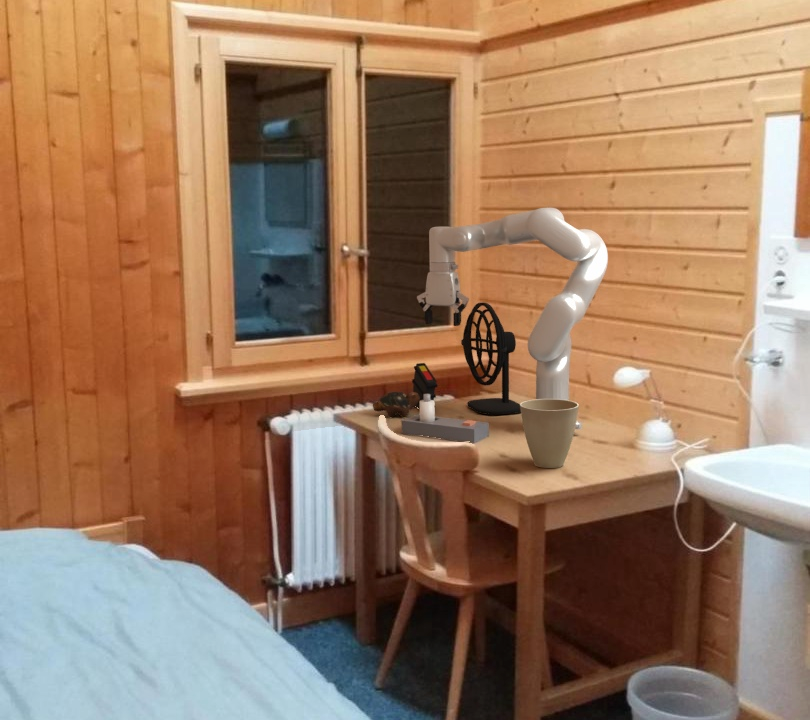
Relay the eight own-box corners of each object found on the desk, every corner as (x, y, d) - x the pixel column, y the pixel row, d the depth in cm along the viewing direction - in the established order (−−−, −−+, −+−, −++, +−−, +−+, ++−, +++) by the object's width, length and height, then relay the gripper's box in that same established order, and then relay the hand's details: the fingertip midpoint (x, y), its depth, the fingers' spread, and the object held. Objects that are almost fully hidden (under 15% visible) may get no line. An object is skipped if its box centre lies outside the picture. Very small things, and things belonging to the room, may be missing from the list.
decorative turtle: (420, 419, 306) (418, 394, 304) (372, 422, 307) (370, 397, 305) (421, 410, 315) (419, 386, 314) (375, 413, 317) (372, 390, 315)
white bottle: (437, 430, 289) (437, 393, 287) (430, 433, 285) (429, 396, 283) (424, 428, 291) (424, 392, 289) (417, 431, 287) (416, 395, 285)
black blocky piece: (418, 399, 327) (425, 362, 319) (432, 423, 318) (440, 385, 309) (407, 400, 326) (414, 363, 318) (422, 424, 316) (429, 386, 308)
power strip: (488, 436, 283) (488, 420, 282) (474, 443, 275) (474, 426, 274) (417, 427, 295) (417, 411, 294) (401, 433, 287) (401, 417, 287)
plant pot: (589, 463, 253) (590, 403, 250) (556, 476, 242) (556, 413, 239) (541, 453, 263) (542, 395, 260) (508, 465, 252) (508, 405, 249)
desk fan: (452, 403, 328) (451, 299, 322) (500, 399, 333) (500, 296, 327) (482, 420, 302) (481, 307, 296) (534, 415, 307) (534, 305, 302)
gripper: (473, 267, 292) (474, 324, 294) (423, 266, 300) (424, 321, 303) (461, 269, 285) (462, 327, 288) (411, 268, 294) (412, 324, 297)
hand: (442, 324), depth 296 cm, fingers open, 9 cm apart
